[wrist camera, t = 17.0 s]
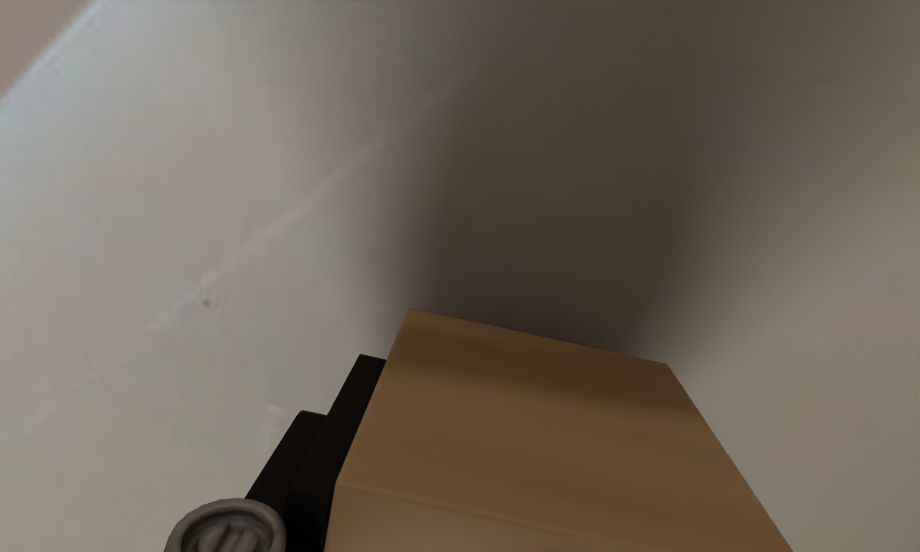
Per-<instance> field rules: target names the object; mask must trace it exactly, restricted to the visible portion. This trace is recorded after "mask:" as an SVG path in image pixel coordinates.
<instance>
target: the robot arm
mask: <svg viewBox="0 0 920 552" xmlns="http://www.w3.org/2000/svg"><path fill="white" fill-rule="evenodd" d="M386 361H387V360H385V359H381V358H376V357H372V356H367V355H362V354H360V355H359V357H358V358H357V360H356V362H355V364H354V366H353V368H352V370H351V372H350V373H349V375H348V377H347V379H346V381H345V383H344V385H343V386H342V388H341V390H340V392H339V394H338V396H337V398H336V400H335V401H334V403H333V405H332V407H331V409H330V411H329V413H328V414H327V415H323V414H318V413H314V412H309V411H304V410H302V411H300V412H299V414H298V415H297V416H296V418H295V419H294V421H293V422H292V424H291V426H290V427H289V429H288V430H287V432H286V434H285V435H284V437H283V438H282V440H281V441H280V443H279V445H278V446H277V448H276V449H275V451H274V452H273V454H272V456H271V457H270V459H269V460H268V462H267V464H266V465H265V467H264V468H263V470H262V471H261V473H260V475H259V476H258V478H257V479H256V481H255V483H254V484H253V486H252V487H251V489H250V490H249V492H248V494H247V495H246V497H245V498H244V499H242V498H232V499H222V500H217V501H214V502H211V503H208V504H204V505H202V506H200V507H198V508H197V509H195V510H193V511H191V512H190V513H188V514H187V515H186V516H185V517H184V518H183V519H181V520H180V521H179V522H178V523H177V524H176V525H175V527H174V529H173V531H172V532H171V534H170V536H169V538H168V541H167V543H166V546H165V549H164V552H324V548H325V543H326V537H327V531H328V525H329V519H330V513H331V507H332V501H333V495H334V489H335V483H336V480H337V478H338V476H339V473H340V471H341V468H342V466H343V464H344V461H345V459H346V456H347V454H348V452H349V449H350V447H351V445H352V442H353V440H354V437H355V435H356V433H357V430H358V428H359V425H360V423H361V421H362V418H363V416H364V413H365V411H366V409H367V406H368V404H369V401H370V399H371V397H372V394H373V392H374V389H375V387H376V385H377V382H378V380H379V377H380V375H381V373H382V370H383V368H384V366H385V363H386Z"/></svg>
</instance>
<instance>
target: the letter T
mask: <svg viewBox="0 0 920 552" xmlns="http://www.w3.org/2000/svg"><path fill="white" fill-rule="evenodd" d="M324 552H793V551H792V549H791V548H790V546H789V545H788V543H787V542H786V540H785V539H784V537H783V536H782V534H781V533H780V531H779V530H778V528H777V527H776V525H775V524H774V522H773V521H772V519H771V518H770V517H769V515H768V514H767V512H766V511H765V509H764V508H763V506H762V505H761V503H760V502H759V500H758V499H757V497H756V496H755V494H754V493H753V491H752V490H751V488H750V487H749V485H748V484H747V482H746V481H745V479H744V478H743V476H742V475H741V473H740V472H739V470H738V469H737V467H736V466H735V464H734V463H733V461H732V460H731V458H730V457H729V455H728V454H727V452H726V451H725V449H724V448H723V446H722V445H721V443H720V442H719V440H718V439H717V437H716V436H715V435H714V433H713V432H712V430H711V429H710V427H709V426H708V424H707V423H706V421H705V420H704V418H703V417H702V415H701V414H700V412H699V411H698V409H697V408H696V406H695V405H694V403H693V402H692V400H691V399H690V397H689V396H688V394H687V393H686V391H685V390H684V388H683V387H682V385H681V384H680V382H679V381H678V379H677V378H676V376H675V375H674V373H673V372H672V370H671V369H670V367H669V366H668V365H667V364H665V363H660V362H655V361H651V360H646V359H642V358H637V357H633V356H628V355H623V354H619V353H614V352H610V351H605V350H601V349H596V348H591V347H587V346H582V345H578V344H573V343H568V342H564V341H559V340H555V339H550V338H546V337H541V336H536V335H532V334H527V333H523V332H518V331H514V330H509V329H504V328H500V327H495V326H491V325H486V324H481V323H477V322H472V321H468V320H463V319H459V318H454V317H449V316H445V315H440V314H436V313H431V312H427V311H422V310H417V309H413V308H410V309H408V311H407V313H406V315H405V318H404V320H403V322H402V325H401V327H400V330H399V332H398V334H397V337H396V339H395V342H394V344H393V346H392V349H391V351H390V354H389V356H388V358H387V361H386V363H385V366H384V368H383V370H382V373H381V375H380V377H379V380H378V382H377V385H376V387H375V389H374V392H373V394H372V397H371V399H370V401H369V404H368V406H367V409H366V411H365V413H364V416H363V418H362V421H361V423H360V425H359V428H358V430H357V433H356V435H355V437H354V440H353V442H352V445H351V447H350V449H349V452H348V454H347V456H346V459H345V461H344V464H343V466H342V468H341V471H340V473H339V476H338V478H337V480H336V483H335V489H334V495H333V501H332V507H331V513H330V519H329V525H328V531H327V537H326V543H325V548H324Z"/></svg>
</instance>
